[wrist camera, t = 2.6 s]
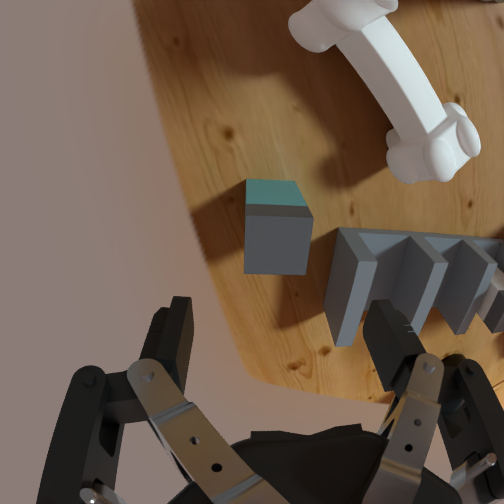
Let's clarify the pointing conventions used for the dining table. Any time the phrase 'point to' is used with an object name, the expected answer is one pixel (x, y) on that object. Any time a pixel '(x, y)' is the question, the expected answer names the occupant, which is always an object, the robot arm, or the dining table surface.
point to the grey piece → (408, 277)
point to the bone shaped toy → (392, 86)
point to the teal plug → (276, 228)
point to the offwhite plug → (493, 303)
